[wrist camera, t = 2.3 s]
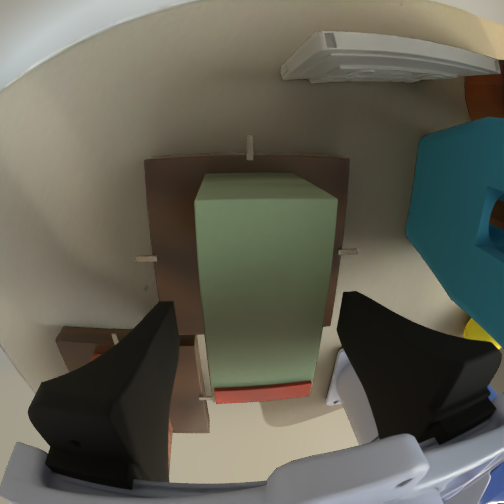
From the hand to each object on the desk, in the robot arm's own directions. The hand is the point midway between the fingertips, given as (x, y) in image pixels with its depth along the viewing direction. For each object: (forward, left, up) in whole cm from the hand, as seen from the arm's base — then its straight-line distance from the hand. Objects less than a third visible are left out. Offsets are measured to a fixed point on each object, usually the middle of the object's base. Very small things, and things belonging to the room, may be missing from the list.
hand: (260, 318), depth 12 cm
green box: (0, 0, -7) cm, 7 cm away
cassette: (-8, -12, -9) cm, 17 cm away
